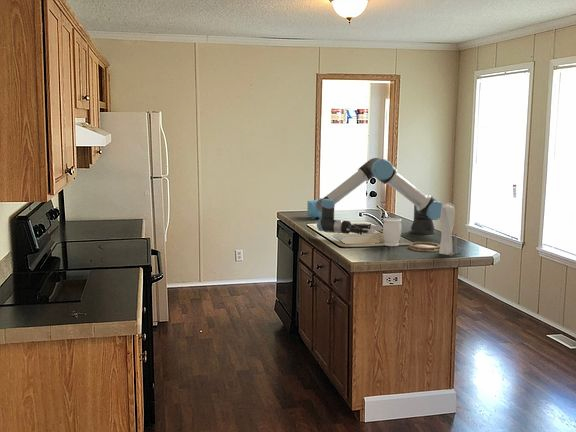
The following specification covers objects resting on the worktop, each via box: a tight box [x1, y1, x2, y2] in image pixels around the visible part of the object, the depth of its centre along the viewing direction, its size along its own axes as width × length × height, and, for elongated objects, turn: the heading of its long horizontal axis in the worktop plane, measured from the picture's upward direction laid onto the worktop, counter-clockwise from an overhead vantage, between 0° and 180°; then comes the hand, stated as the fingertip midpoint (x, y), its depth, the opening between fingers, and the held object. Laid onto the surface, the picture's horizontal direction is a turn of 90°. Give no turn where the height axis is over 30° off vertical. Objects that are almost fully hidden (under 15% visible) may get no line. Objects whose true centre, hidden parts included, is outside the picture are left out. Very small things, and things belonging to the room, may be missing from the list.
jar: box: [382, 217, 403, 247], centre depth 344 cm, size 11×10×15 cm
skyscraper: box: [438, 202, 458, 256], centre depth 322 cm, size 8×8×28 cm
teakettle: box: [306, 197, 323, 220], centre depth 437 cm, size 19×19×15 cm
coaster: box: [408, 241, 440, 253], centre depth 336 cm, size 17×17×2 cm
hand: (377, 230), depth 347 cm, fingers open, 13 cm apart
